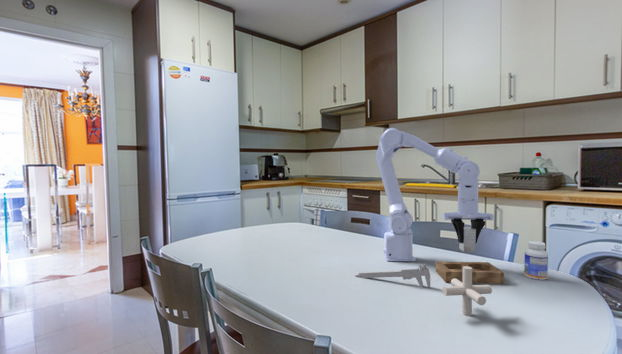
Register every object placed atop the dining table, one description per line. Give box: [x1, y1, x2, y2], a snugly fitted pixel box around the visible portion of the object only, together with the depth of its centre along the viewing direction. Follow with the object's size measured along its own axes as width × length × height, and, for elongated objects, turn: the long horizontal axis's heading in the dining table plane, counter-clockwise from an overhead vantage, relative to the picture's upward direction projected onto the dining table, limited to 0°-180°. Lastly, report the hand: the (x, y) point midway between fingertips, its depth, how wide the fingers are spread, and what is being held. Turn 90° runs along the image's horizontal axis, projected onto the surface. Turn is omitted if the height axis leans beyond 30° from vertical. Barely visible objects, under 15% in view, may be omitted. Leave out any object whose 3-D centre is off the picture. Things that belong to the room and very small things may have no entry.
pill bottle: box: [523, 240, 549, 281], centre depth 88 cm, size 5×5×10 cm
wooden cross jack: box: [441, 266, 493, 317], centre depth 67 cm, size 10×10×10 cm
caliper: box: [354, 263, 431, 289], centre depth 86 cm, size 20×1×6 cm, turn 63°
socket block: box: [435, 260, 505, 285], centre depth 89 cm, size 15×9×3 cm, turn 85°
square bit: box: [458, 226, 477, 253], centre depth 99 cm, size 4×4×7 cm
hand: (467, 242), depth 99 cm, fingers closed on square bit, 3 cm apart
